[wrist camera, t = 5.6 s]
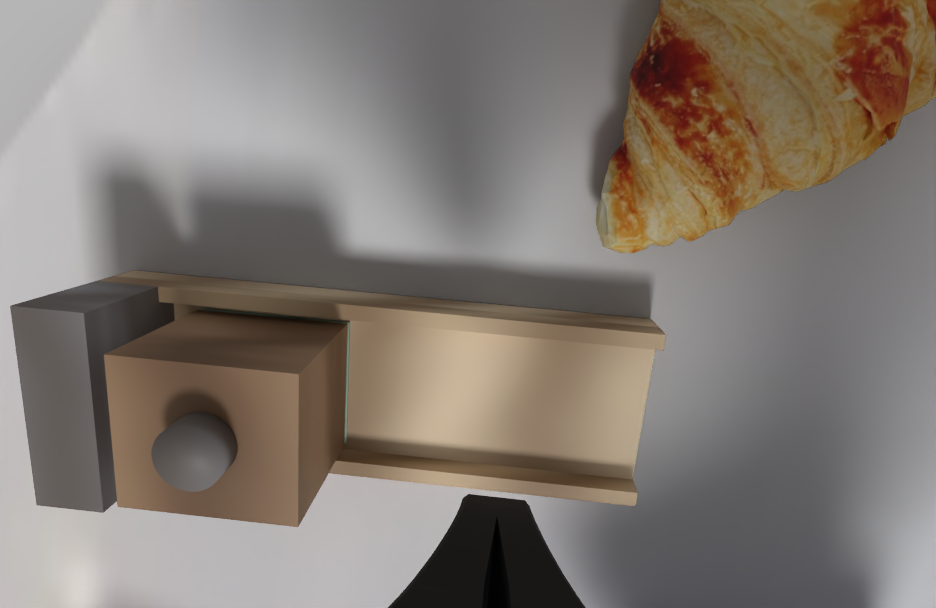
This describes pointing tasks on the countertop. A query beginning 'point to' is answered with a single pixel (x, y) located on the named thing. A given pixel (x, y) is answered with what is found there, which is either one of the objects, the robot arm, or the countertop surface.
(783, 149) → the croissant
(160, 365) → the carriage
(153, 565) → the countertop surface
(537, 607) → the robot arm
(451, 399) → the rail
